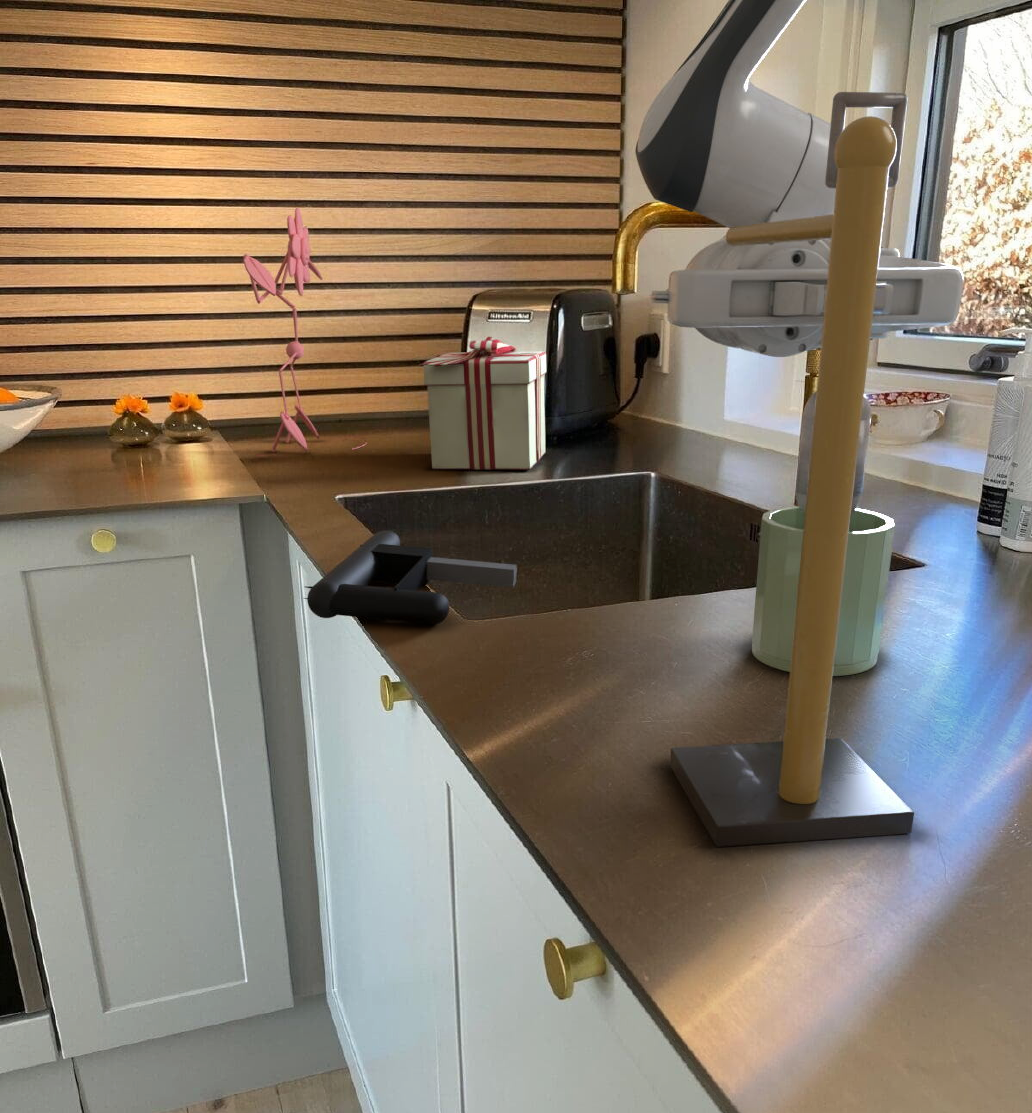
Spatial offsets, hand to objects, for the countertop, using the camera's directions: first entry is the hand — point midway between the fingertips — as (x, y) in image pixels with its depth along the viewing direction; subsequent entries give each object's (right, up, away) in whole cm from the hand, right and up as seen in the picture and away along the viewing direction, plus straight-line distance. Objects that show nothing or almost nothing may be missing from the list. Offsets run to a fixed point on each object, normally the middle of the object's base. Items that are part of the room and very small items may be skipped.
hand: (855, 300), depth 66 cm
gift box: (-27, +8, +86) cm, 91 cm away
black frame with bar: (-30, -16, +25) cm, 43 cm away
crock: (0, -22, +10) cm, 24 cm away
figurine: (-53, +14, +101) cm, 115 cm away
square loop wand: (0, -13, +6) cm, 15 cm away
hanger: (-8, -29, -6) cm, 30 cm away
